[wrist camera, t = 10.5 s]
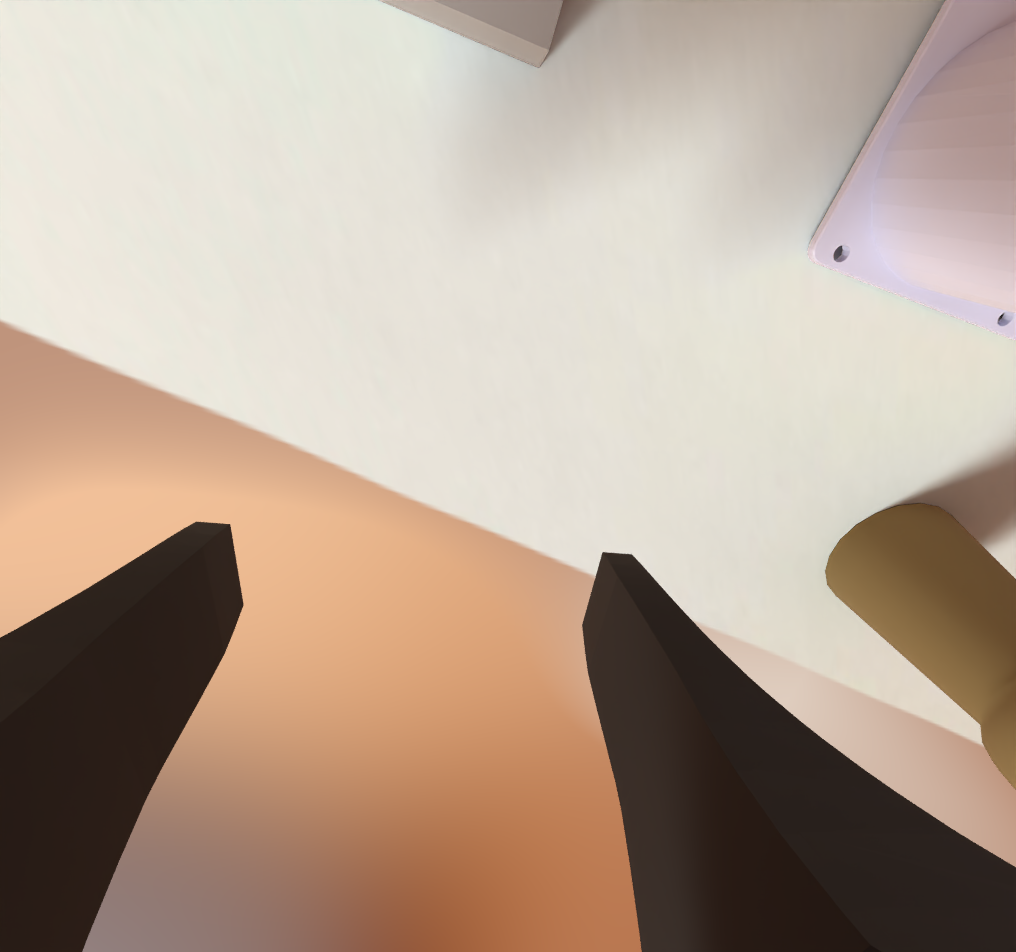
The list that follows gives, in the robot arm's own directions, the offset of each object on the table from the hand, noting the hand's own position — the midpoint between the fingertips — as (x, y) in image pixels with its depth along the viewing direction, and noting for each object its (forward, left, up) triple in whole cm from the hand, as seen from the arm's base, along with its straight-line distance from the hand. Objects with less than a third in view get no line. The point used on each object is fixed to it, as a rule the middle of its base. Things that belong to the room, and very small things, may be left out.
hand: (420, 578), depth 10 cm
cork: (-22, +2, -11) cm, 25 cm away
